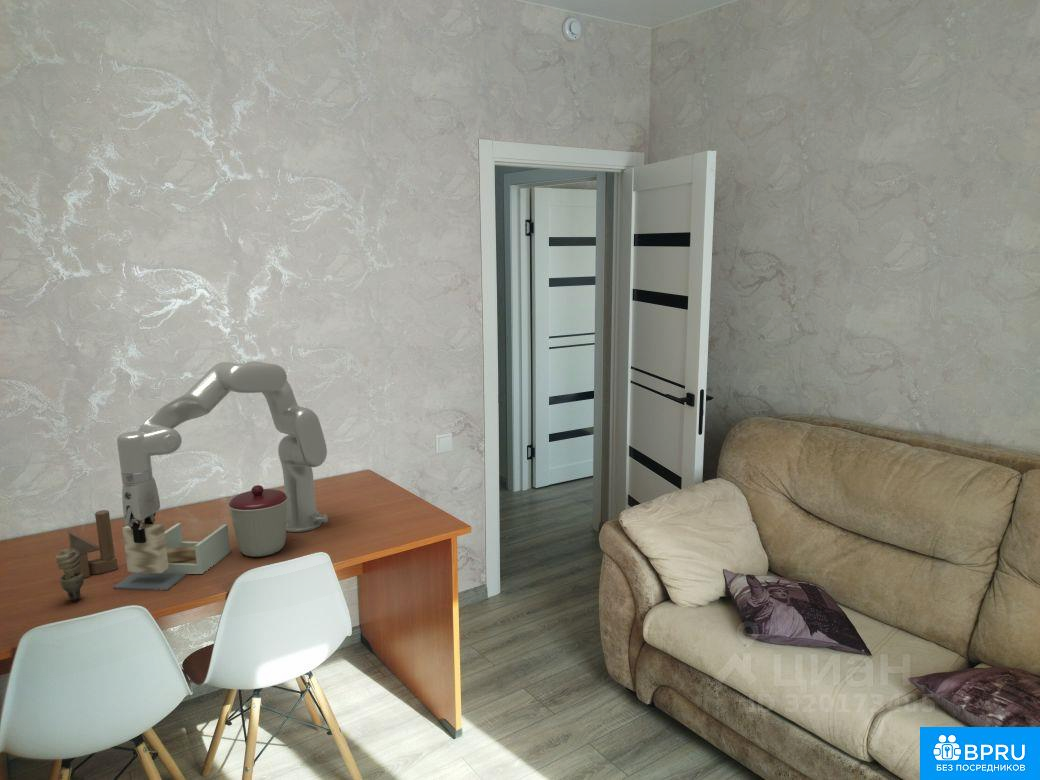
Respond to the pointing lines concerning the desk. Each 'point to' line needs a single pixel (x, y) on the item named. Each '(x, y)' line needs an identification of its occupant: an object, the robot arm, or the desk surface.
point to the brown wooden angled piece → (96, 547)
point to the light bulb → (70, 572)
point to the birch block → (146, 550)
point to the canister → (259, 520)
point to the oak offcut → (181, 554)
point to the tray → (198, 550)
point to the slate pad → (149, 581)
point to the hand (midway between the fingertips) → (144, 538)
